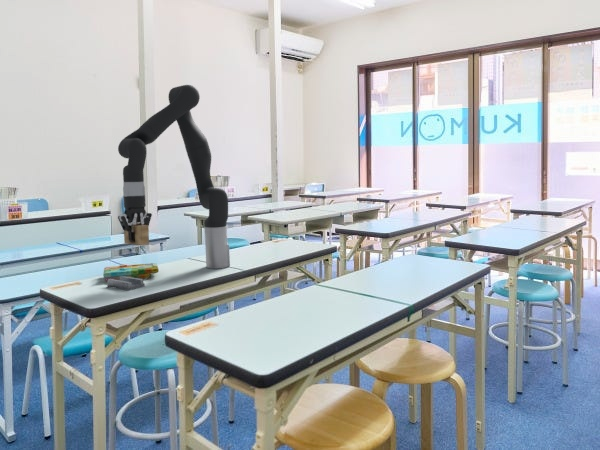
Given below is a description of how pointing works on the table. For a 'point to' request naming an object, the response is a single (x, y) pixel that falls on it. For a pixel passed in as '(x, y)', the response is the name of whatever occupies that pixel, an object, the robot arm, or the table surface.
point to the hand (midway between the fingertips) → (136, 241)
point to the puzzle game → (130, 271)
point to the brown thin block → (138, 235)
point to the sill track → (126, 283)
